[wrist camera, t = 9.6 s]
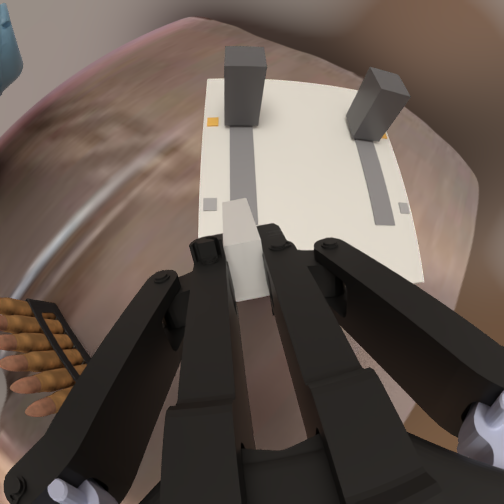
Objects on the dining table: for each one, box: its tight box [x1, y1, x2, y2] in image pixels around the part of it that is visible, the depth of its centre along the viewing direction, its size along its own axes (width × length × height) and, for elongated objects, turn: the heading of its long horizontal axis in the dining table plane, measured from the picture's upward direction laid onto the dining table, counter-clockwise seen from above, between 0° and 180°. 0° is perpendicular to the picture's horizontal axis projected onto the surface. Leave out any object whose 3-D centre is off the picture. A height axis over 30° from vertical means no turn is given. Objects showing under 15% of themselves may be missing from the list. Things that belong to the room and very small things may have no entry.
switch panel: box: [198, 79, 424, 285], centre depth 28 cm, size 26×22×2 cm
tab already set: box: [346, 67, 410, 142], centre depth 24 cm, size 4×4×8 cm
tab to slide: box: [224, 46, 267, 126], centre depth 23 cm, size 4×4×8 cm
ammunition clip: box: [0, 298, 91, 417], centre depth 16 cm, size 11×2×12 cm, turn 44°
